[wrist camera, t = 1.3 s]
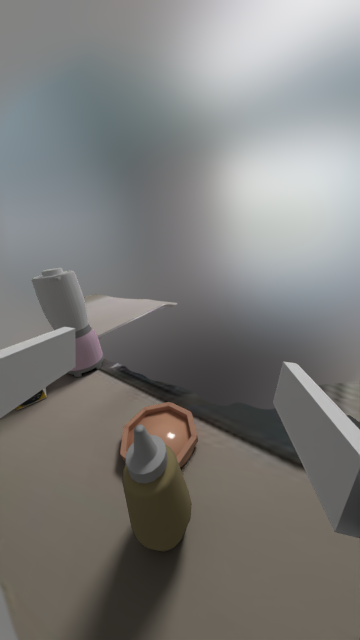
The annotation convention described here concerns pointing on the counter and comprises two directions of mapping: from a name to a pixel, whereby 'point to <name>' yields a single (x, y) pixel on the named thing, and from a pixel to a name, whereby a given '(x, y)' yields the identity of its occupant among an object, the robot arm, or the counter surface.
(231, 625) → the counter surface
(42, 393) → the medicine bottle
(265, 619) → the counter surface
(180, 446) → the dish
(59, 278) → the blender
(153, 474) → the squeeze bottle
